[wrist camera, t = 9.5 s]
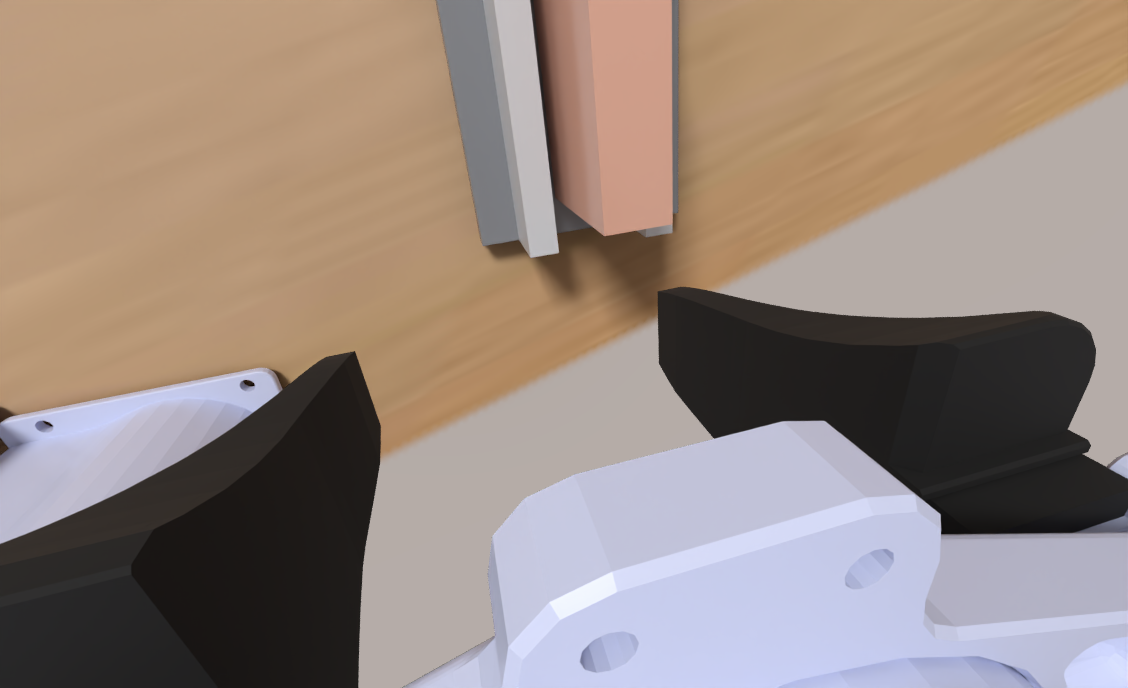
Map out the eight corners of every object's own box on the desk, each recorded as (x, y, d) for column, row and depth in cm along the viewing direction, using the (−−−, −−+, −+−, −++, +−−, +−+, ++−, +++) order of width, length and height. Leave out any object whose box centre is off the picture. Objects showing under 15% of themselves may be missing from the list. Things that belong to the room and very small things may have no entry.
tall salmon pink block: (555, 197, 19) (604, 236, 13) (525, -71, 15) (577, -161, 10) (605, 190, 19) (673, 224, 14) (588, -75, 15) (671, -165, 10)
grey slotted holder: (480, 239, 20) (490, 265, 17) (411, -125, 15) (407, -184, 12) (667, 207, 21) (708, 226, 18) (664, -137, 16) (720, -193, 13)
